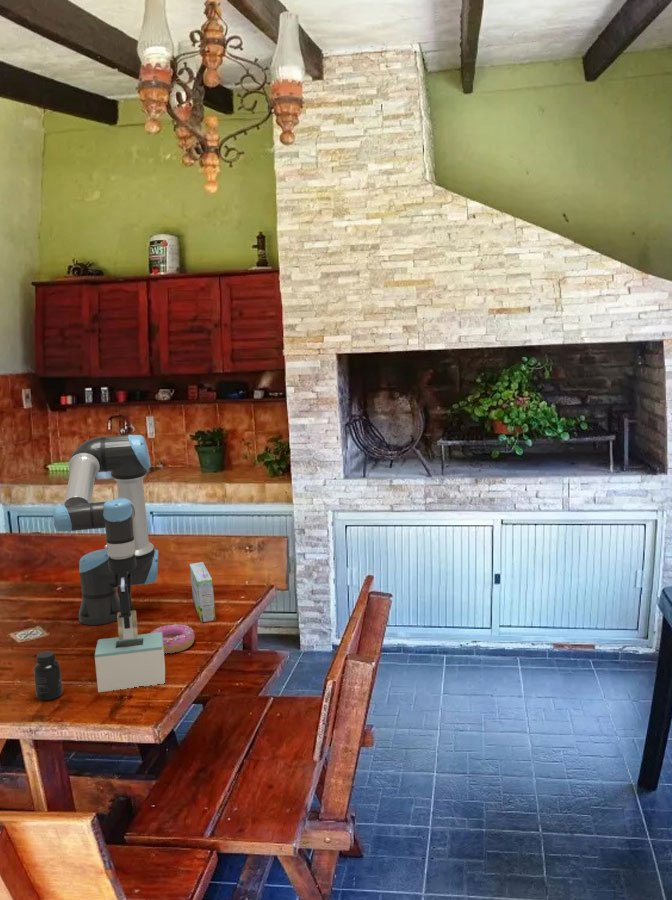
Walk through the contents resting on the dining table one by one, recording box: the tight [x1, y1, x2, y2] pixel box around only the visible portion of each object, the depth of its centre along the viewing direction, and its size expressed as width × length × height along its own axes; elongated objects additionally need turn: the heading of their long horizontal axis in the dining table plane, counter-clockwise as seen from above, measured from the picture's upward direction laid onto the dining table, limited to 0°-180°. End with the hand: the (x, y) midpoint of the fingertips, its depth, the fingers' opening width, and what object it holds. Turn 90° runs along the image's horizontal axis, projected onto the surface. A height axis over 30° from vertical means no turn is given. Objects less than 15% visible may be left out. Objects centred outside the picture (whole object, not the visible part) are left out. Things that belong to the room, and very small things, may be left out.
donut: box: [150, 623, 196, 655], centre depth 245 cm, size 14×14×5 cm
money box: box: [94, 632, 166, 693], centre depth 221 cm, size 11×18×11 cm, turn 102°
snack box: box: [189, 561, 217, 624], centre depth 272 cm, size 21×6×15 cm, turn 18°
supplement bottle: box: [33, 650, 64, 702], centre depth 213 cm, size 7×7×12 cm
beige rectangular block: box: [116, 609, 139, 640], centre depth 219 cm, size 3×5×7 cm, turn 102°
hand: (128, 635), depth 220 cm, fingers closed on beige rectangular block, 3 cm apart
